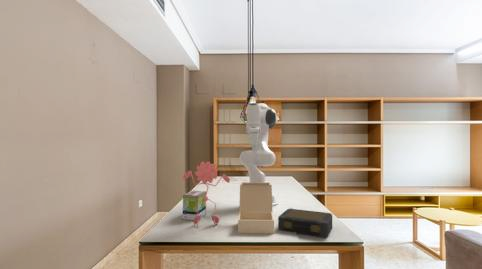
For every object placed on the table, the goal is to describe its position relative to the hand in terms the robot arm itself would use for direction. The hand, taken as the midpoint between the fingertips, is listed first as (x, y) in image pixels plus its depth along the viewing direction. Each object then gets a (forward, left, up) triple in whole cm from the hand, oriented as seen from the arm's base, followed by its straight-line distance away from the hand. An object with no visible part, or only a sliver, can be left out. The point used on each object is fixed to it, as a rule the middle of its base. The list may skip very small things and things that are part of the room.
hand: (253, 152), depth 169 cm
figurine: (+28, -7, -39) cm, 49 cm away
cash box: (-11, +31, -40) cm, 51 cm away
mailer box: (+11, +16, -39) cm, 44 cm away
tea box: (+27, -24, -39) cm, 53 cm away
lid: (+4, +7, -24) cm, 26 cm away
